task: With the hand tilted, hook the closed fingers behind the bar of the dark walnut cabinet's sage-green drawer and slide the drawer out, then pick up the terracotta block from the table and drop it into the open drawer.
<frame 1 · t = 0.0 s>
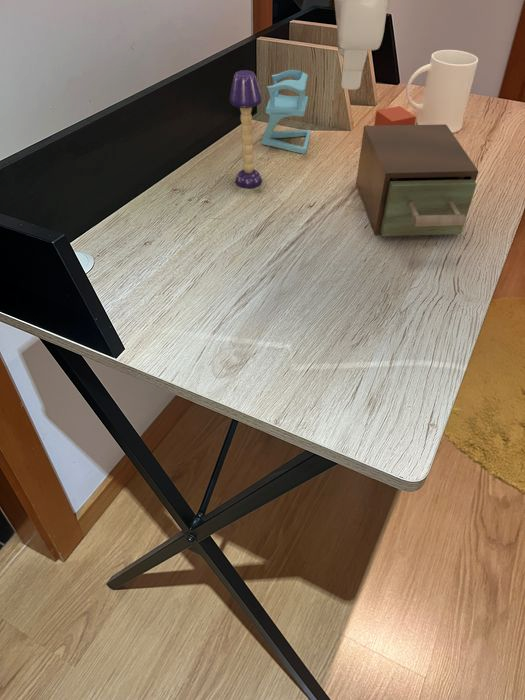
hand: (347, 69, 58), 25 cm above the table, tool pointing down, fingers open, 8 cm apart
block: (391, 140, 103), on the table
drawer: (419, 194, 81), point 5 cm above the table, slide at 0.5 cm
cabinet: (405, 207, 87), on the table
toy lamp: (246, 182, 92), on the table
chair: (285, 143, 103), on the table
mug: (430, 125, 109), on the table
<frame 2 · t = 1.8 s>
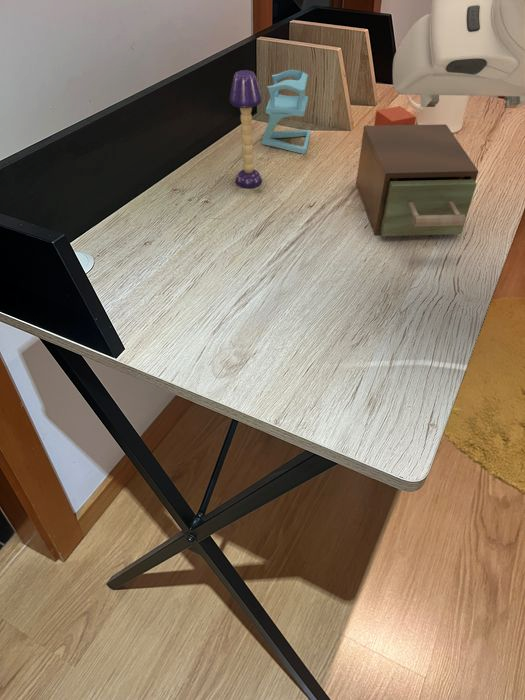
hand: (468, 101, 63), 21 cm above the table, tool tilted 45°, fingers open, 8 cm apart
nothing on the table moved.
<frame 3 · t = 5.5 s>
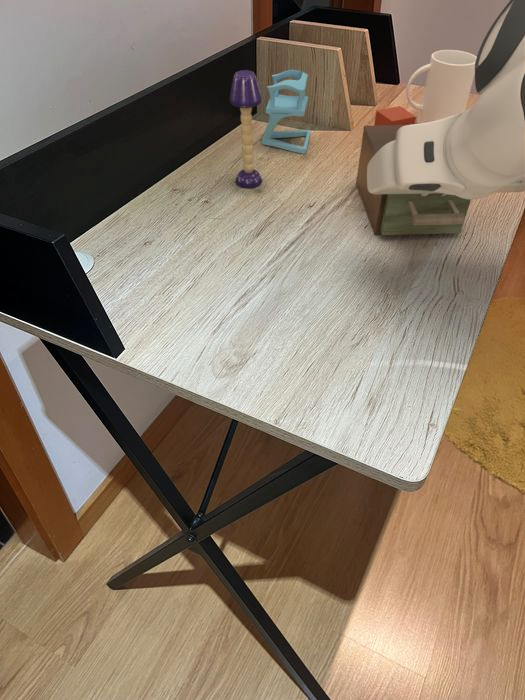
hand: (431, 190, 75), 8 cm above the table, tool tilted 45°, fingers closed, pressing on drawer
drawer: (419, 193, 81), point 5 cm above the table, slide at 0.3 cm, touching gripper
everything else where it was.
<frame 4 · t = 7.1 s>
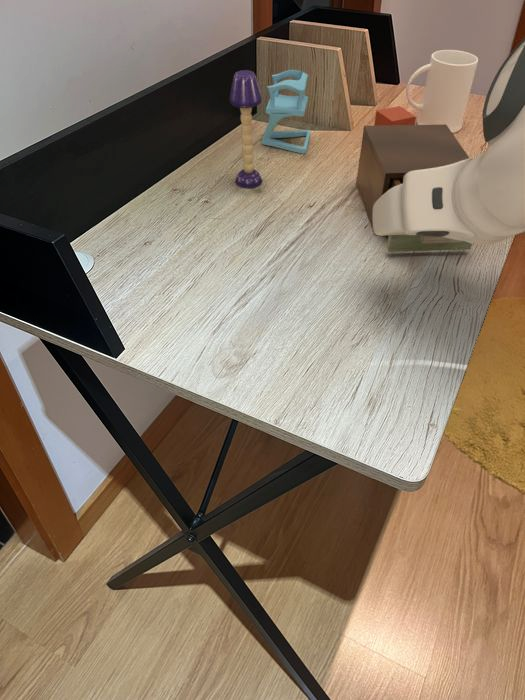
hand: (438, 228, 73), 6 cm above the table, tool tilted 45°, fingers closed, pressing on drawer
drawer: (427, 208, 78), point 5 cm above the table, slide at 4.3 cm, touching gripper
everything else where it was.
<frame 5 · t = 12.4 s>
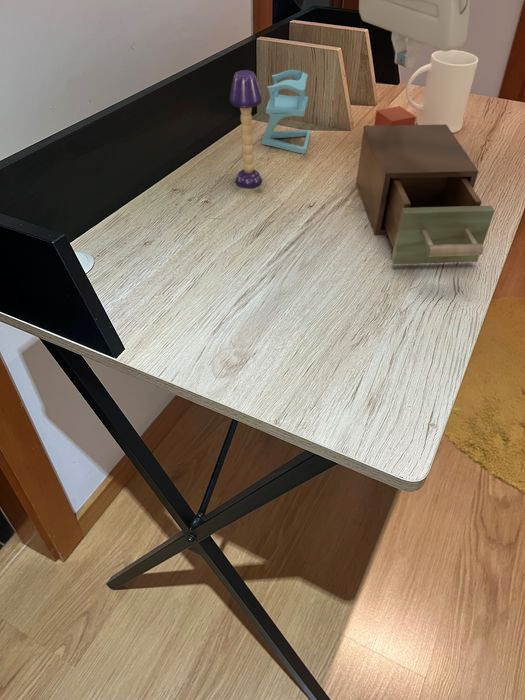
hand: (404, 65, 91), 14 cm above the table, tool pointing down, fingers closed
drawer: (432, 220, 76), point 5 cm above the table, slide at 7.2 cm
everything else where it was.
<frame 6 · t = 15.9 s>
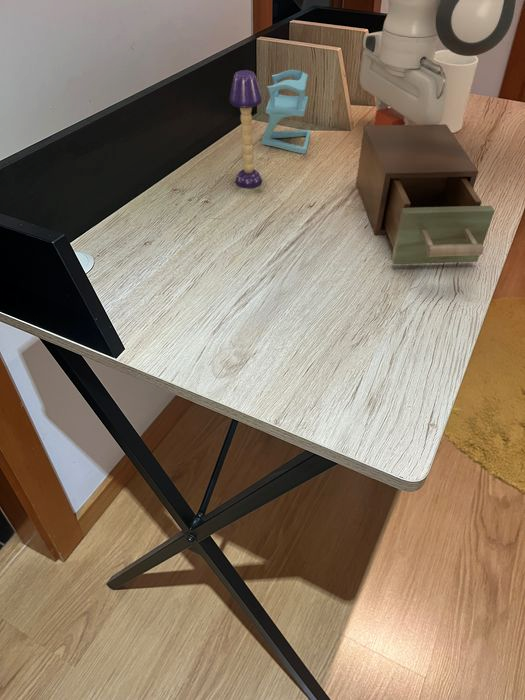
hand: (392, 132, 102), 2 cm above the table, tool pointing down, fingers closed on block, 5 cm apart
block: (391, 140, 103), on the table, touching gripper
everything else where it was.
when the fingers open (11 cm above the table, at t = 22.8 s): block drops 7 cm, resting on drawer.
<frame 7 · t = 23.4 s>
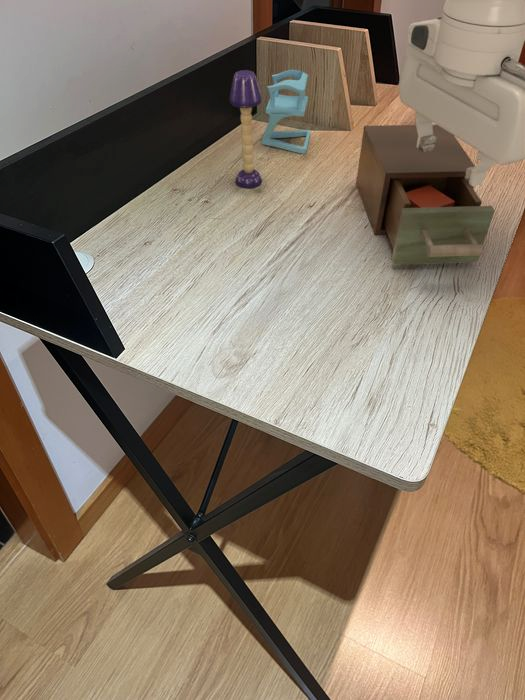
hand: (447, 165, 71), 12 cm above the table, tool pointing down, fingers open, 8 cm apart
block: (420, 229, 79), point 2 cm above the table, touching drawer
drawer: (433, 220, 76), point 5 cm above the table, slide at 7.2 cm, touching block
everything else where it was.
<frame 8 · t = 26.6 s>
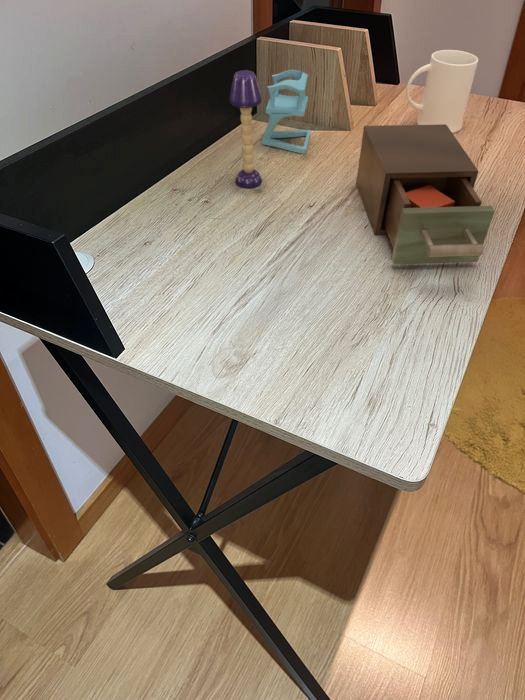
nothing on the table moved.
at the end: drawer slide at 7.2 cm; block inside the target area in the drawer (2.1 cm from its centre), point 2.0 cm above the cabinet's base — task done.
